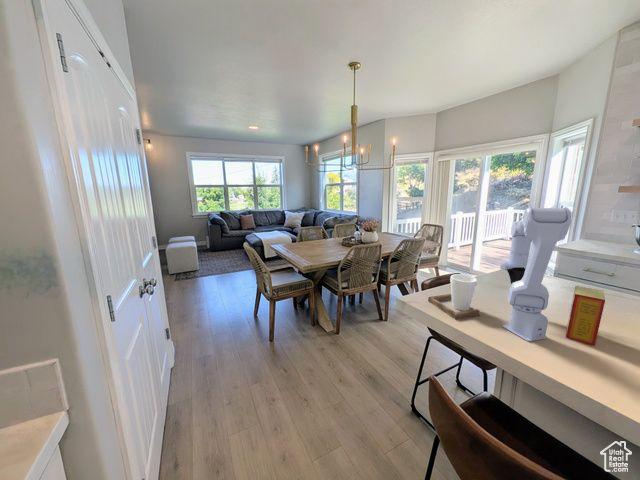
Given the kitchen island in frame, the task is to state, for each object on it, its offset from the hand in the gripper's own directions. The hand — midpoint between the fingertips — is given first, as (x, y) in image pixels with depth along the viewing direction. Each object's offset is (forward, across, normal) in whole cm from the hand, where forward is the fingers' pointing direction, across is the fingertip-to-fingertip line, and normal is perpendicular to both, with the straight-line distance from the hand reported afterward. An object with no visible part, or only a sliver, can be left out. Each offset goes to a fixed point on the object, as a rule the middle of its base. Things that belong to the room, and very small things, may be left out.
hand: (514, 284), depth 102 cm
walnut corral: (+10, +22, -7) cm, 25 cm away
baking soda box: (+11, -4, +21) cm, 24 cm away
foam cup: (+11, +19, -7) cm, 22 cm away
